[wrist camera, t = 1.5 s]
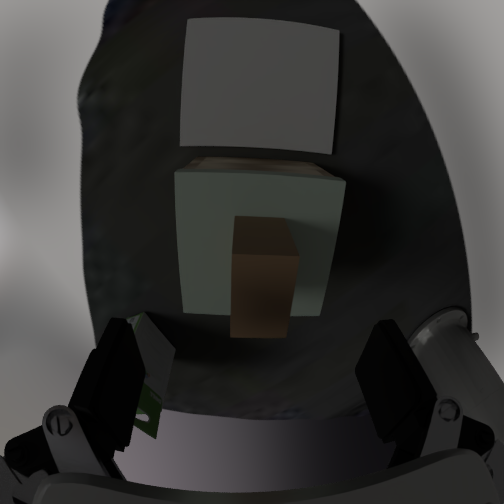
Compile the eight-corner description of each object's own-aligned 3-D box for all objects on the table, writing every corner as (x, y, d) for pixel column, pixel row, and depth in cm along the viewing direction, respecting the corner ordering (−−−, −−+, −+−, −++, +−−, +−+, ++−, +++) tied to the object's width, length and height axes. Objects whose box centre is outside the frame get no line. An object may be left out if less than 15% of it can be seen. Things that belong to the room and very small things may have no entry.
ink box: (121, 318, 30) (82, 406, 18) (144, 309, 30) (107, 404, 18) (153, 355, 33) (130, 441, 21) (176, 348, 33) (157, 440, 21)
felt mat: (337, 32, 17) (339, 30, 17) (329, 153, 23) (331, 154, 22) (188, 20, 17) (187, 19, 16) (181, 145, 22) (180, 146, 21)
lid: (335, 174, 18) (383, 207, 11) (313, 298, 22) (335, 364, 16) (182, 166, 17) (146, 194, 11) (188, 295, 22) (171, 363, 15)
